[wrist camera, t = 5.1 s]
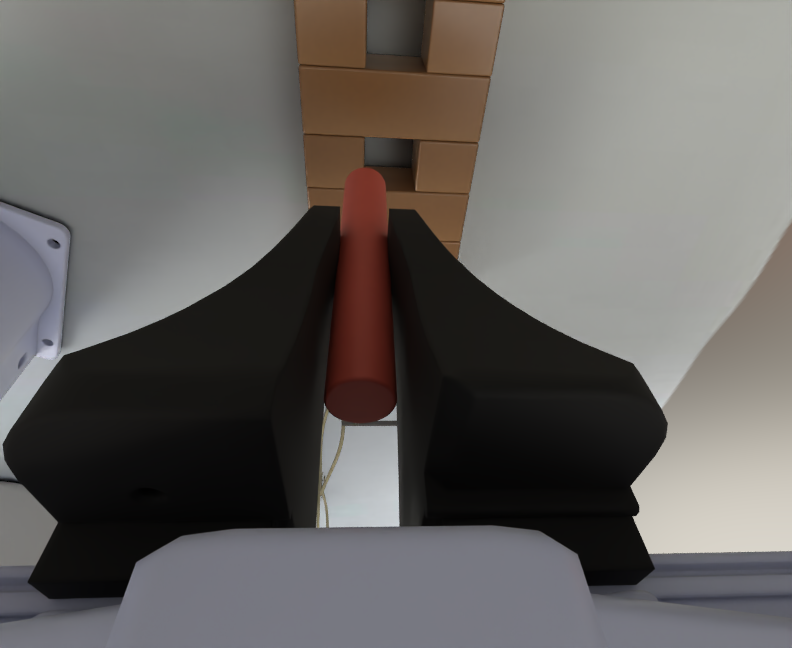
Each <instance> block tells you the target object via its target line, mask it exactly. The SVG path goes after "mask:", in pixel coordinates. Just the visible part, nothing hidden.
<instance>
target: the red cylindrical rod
mask: <svg viewBox="0 0 792 648" xmlns="http://www.w3.org/2000/svg"><path fill="white" fill-rule="evenodd" d="M340 232H341V238H340V248H339V259H338V265H337V271H336V279H335V289H334V299H333V310H332V320H331V330H330V340H329V350H328V360H327V370H326V380H325V391H324V403H325V406H326V408H327V410H328V411H329V412H330V413H331V414H332V415H333V416H335V417H336V418H338V419H341V420H343V421H346V422H351V423H370V422H375V421H378V420H380V419H383V418H384V417H386V416H388V415H389V414H390V413H391V412H392V411H393V409H394V408H395V406H396V403H397V384H396V366H395V348H394V329H393V311H392V293H391V277H390V268H389V260H388V242H387V234H388V220H387V201H386V185H385V181H384V179H383V177H382V176H381V174H380V173H379V172H377V171H376V170H374V169H371V168H358V169H356V170H354V171H352V172H351V173H350V174H349V175H348V177H347V179H346V181H345V188H344V198H343V208H342V218H341V229H340Z"/></svg>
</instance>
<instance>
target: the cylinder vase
mask: <svg viewBox="0 0 792 648" xmlns="http://www.w3.org/2000/svg"><path fill="white" fill-rule="evenodd" d="M57 524H58V522H57V521H56V520H55V519H54V517H53V516H52V515H51V514H50V513H49V512H48V511H47V510H46V509H45V508H44V507H43V506H42V505H41V504H40V503H39V502H38V501H37V500H36V499H35V498H34V497H33V495H32V494H31V493H30V492H29V491H28V490H27V489H26V488H25V487H24V486H23V485H22V484H18V483H11V482H3V481H0V566H29V565H36V564H37V562H38V560H39V558H40V556H41V555H42V553H43V551H44V549H45V547H46V545H47V543H48V541H49V539H50V537H51V535H52V533H53V531H54V529H55V527H56V525H57Z"/></svg>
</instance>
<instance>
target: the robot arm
mask: <svg viewBox="0 0 792 648" xmlns="http://www.w3.org/2000/svg"><path fill="white" fill-rule="evenodd" d="M70 237H71V236H70V232H69V230H68V229H67V228H66V227H65V226H64V225H62V224H60V223H58V222H55V221H52V220H50V219H47V218H44V217H41V216H38V215H36V214H33V213H30V212H27V211H25V210H22V209H19V208H16V207H14V206H11V205H8V204H5V203H3V202H0V401H1V399H2V398H3V397H4V395H5V394H6V393H7V391H8V390H9V389H10V388H11V386H12V385H13V384H14V382H15V381H16V380H17V378H18V377H19V376H20V375H21V373H22V372H23V371H24V369H25V368H26V367H27V365H28V364H29V363H30V361H31V360H32V359H33V358H34V356H37V357H41V358H45V359H50V360H51V359H56V358H57V357H58V356H59V354H60V352H61V341H62V329H63V318H64V306H65V295H66V283H67V271H68V260H69V248H70ZM340 238H341V232H340V206H318V205H314V206H312V207H311V208H310V209H309V210H308V211H307V213H306V214H305V215H304V216H303V217H302V218H301V220H300V221H299V222H298V223H297V224H296V225H295V226H294V227H293V229H292V230H291V231H290V232H289V233H288V234H287V235H286V236H285V237H284V238H283V239H282V240H281V241H280V242H279V243H278V244H277V245H276V246H275V247H274V248H273V249H272V250H271V251H270V252H269V253H267V254H266V255H265V256H264V257H263V258H262V259H261V260H260V261H258V262H257V263H256V264H255V265H254V266H253V267H251V268H250V269H249V270H247V271H246V272H245V273H243V274H242V275H240V276H239V277H237V278H236V279H235V280H233V281H232V282H230V283H229V284H227V285H226V286H224V287H222V288H221V289H219V290H217V291H216V292H214V293H212V294H210V295H208V296H207V297H205V298H203V299H201V300H200V301H198V302H196V303H194V304H192V305H191V306H189V307H187V308H185V309H183V310H181V311H179V312H177V313H175V314H172V315H170V316H168V317H166V318H164V319H162V320H159V321H157V322H155V323H152V324H150V325H148V326H145V327H143V328H141V329H138V330H136V331H133V332H130V333H128V334H125V335H122V336H120V337H117V338H114V339H111V340H108V341H105V342H102V343H99V344H97V345H94V346H91V347H88V348H85V349H82V350H79V351H76V352H73V353H70V354H67V355H64V356H63V357H62V358H61V360H60V361H59V362H58V363H57V365H56V366H55V367H54V369H53V370H52V371H51V373H50V374H49V376H48V377H47V378H46V380H45V381H44V382H43V384H42V385H41V387H40V388H39V390H38V391H37V392H36V394H35V395H34V397H33V398H32V400H31V401H30V403H29V404H28V405H27V407H26V408H25V410H24V411H23V413H22V414H21V415H20V417H19V418H18V420H17V421H16V423H15V424H14V426H13V427H12V428H11V430H10V432H9V433H8V435H7V437H6V439H5V441H4V443H3V451H4V459H5V461H6V463H7V465H8V467H9V468H10V470H11V471H12V472H13V474H14V475H15V477H16V478H17V480H18V481H19V482H20V483H21V484H22V485H23V486H24V487H25V488H26V489H27V490H28V491H29V492H30V493H31V494H32V495H33V497H34V498H35V499H36V500H37V501H38V502H39V503H40V504H41V505H42V506H43V507H44V508H45V509H46V510H47V511H48V512H49V513H50V514H51V515H52V516H53V517H54V519H55V520H56V521H57V522H58V524H57V525H56V527H55V529H54V531H53V533H52V535H51V537H50V539H49V541H48V543H47V545H46V547H45V549H44V551H43V553H42V555H41V556H40V558H39V560H38V562H37V564H36V565H29V566H0V648H792V551H786V552H785V551H782V552H781V551H780V552H734V553H733V552H732V553H731V552H727V553H674V554H648V551H647V549H646V547H645V544H644V542H643V540H642V538H641V536H640V533H639V531H638V529H637V526H636V524H635V522H634V519H633V517H632V516H636V515H637V514H638V513H639V504H638V502H637V500H636V498H635V496H634V494H633V492H632V489H631V487H630V486H631V485H632V483H633V482H634V481H635V480H636V478H637V477H638V476H639V475H640V474H641V472H642V471H643V470H644V469H645V467H646V466H647V465H648V464H649V462H650V461H651V460H652V459H653V458H654V457H655V455H656V453H657V452H658V450H659V449H660V447H661V445H662V443H663V442H664V440H665V438H666V433H667V425H668V423H667V421H666V418H665V416H664V414H663V411H662V410H661V408H660V406H659V404H658V403H657V401H656V399H655V398H654V396H653V394H652V392H651V391H650V389H649V387H648V386H647V384H646V382H645V381H644V379H643V378H642V376H641V374H640V373H639V371H638V370H637V368H636V367H635V366H634V364H633V363H630V362H628V361H626V360H623V359H621V358H618V357H616V356H613V355H611V354H608V353H606V352H603V351H601V350H599V349H596V348H594V347H591V346H589V345H586V344H584V343H582V342H579V341H577V340H575V339H573V338H571V337H569V336H567V335H565V334H563V333H561V332H559V331H557V330H555V329H553V328H551V327H549V326H547V325H546V324H544V323H542V322H540V321H538V320H537V319H535V318H533V317H531V316H530V315H528V314H527V313H525V312H523V311H522V310H520V309H519V308H517V307H515V306H514V305H512V304H511V303H509V302H508V301H506V300H505V299H503V298H502V297H500V296H499V295H498V294H496V293H495V292H494V291H493V290H491V289H490V288H489V287H487V286H486V285H485V284H484V283H482V282H481V281H480V280H479V279H477V278H476V277H475V276H474V275H473V274H472V273H470V272H469V271H468V270H467V269H466V268H465V267H464V266H463V265H462V264H461V263H460V262H459V261H458V260H457V259H456V258H455V257H454V256H453V255H452V254H451V253H450V252H449V251H448V249H447V248H446V247H445V246H444V245H443V244H442V243H441V242H440V240H439V239H438V238H437V237H436V235H435V234H434V233H433V232H432V230H431V229H430V228H429V227H428V225H427V224H426V223H425V221H424V220H423V219H422V217H421V216H420V215H419V214H418V212H417V211H416V210H415V209H391V208H389V218H388V234H387V242H388V260H389V268H390V277H391V293H392V311H393V329H394V348H395V366H396V384H397V432H398V470H399V520H400V527H334V528H316V517H317V501H318V484H319V468H320V453H321V438H322V424H323V411H324V391H325V380H326V370H327V360H328V350H329V340H330V330H331V320H332V310H333V299H334V289H335V279H336V271H337V265H338V259H339V248H340ZM52 239H54V240H56V241H57V242H58V243H59V244H57V243H55V242H54V241H53V240H52Z"/></svg>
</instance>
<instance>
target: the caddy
mask: <svg viewBox="0 0 792 648" xmlns="http://www.w3.org/2000/svg"><path fill="white" fill-rule="evenodd" d="M504 2H505V0H426V3H425V14H424V25H423V37H422V48H421V57H411V56H396V55H380V54H366V49H367V0H294V13H295V27H296V41H297V56H298V63H299V64H300V65H299V67H298V69H299V83H300V97H301V111H302V126H303V132H304V135H303V141H304V155H305V170H306V184H307V196H308V210H309V209H310V208H311V207H312V206H314V205H318V206H340V229H341V218H342V208H343V198H344V188H345V181H346V179H347V177H348V175H349V174H350V173H351V172H352V171H354V170H356V169H358V168H371V169H374V170H376V171H377V172H379V173H380V174H381V176H382V177H383V179H384V181H385V185H386V201H387V220H388V218H389V208H391V209H415V210H416V211H417V212H418V214H419V215H420V216H421V217H422V219H423V220H424V221H425V223H426V224H427V225H428V227H429V228H430V229H431V230H432V232H433V233H434V234H435V235H436V237H437V238H438V239H439V240H440V242H441V243H442V244H443V245H444V246H445V247H446V248H447V249H448V251H449V252H450V253H451V254H452V255H453V256H454V257H455V258H456V259H458V254H459V248H460V240H461V237H462V232H463V226H464V221H465V215H466V210H467V205H468V199H469V192H470V188H471V183H472V178H473V172H474V167H475V161H476V156H477V151H478V142H479V140H480V134H481V129H482V123H483V118H484V113H485V107H486V102H487V96H488V91H489V86H490V80H491V79H490V76H491V75H492V71H493V65H494V60H495V55H496V49H497V44H498V38H499V33H500V28H501V22H502V17H503V11H504V4H502V3H504ZM365 137H380V138H399V139H413V150H412V161H411V168H398V167H377V166H364V157H365Z"/></svg>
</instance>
